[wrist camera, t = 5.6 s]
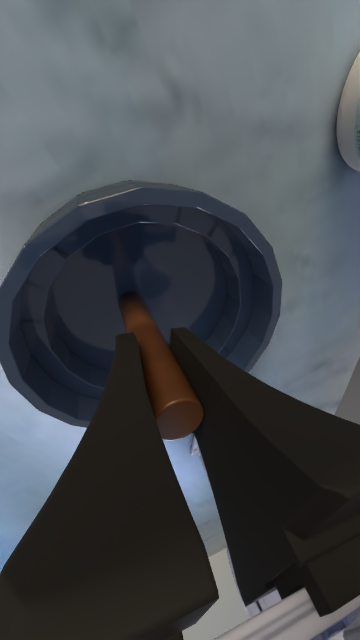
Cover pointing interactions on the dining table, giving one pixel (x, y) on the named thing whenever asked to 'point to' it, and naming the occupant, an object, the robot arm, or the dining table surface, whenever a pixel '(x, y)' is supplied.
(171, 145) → the dining table surface
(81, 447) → the robot arm
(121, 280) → the bowl
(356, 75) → the pill bottle
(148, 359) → the stirring stick
